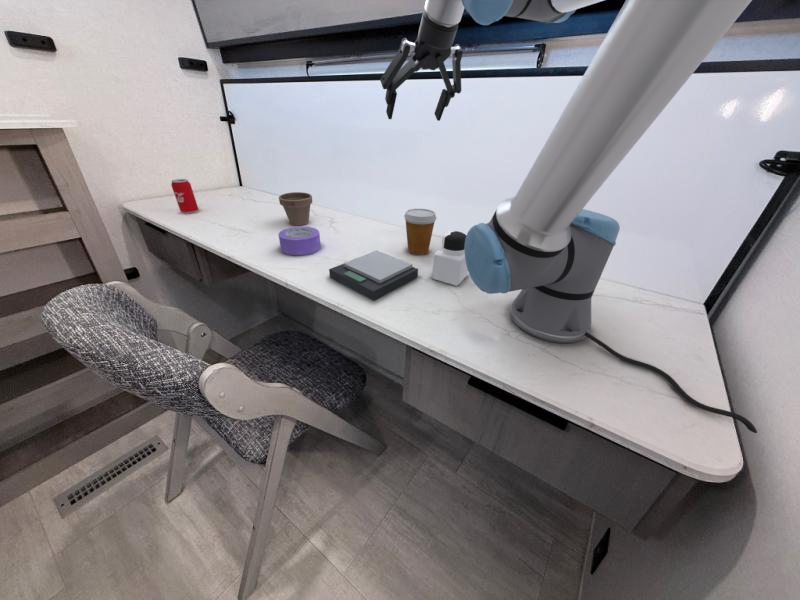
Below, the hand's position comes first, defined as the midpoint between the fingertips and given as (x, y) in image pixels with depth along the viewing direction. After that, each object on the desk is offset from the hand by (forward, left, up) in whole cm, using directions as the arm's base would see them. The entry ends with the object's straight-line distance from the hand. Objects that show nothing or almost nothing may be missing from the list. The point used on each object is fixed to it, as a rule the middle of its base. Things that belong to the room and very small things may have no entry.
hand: (413, 116), depth 79 cm
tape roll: (+22, +25, -36) cm, 49 cm away
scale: (-8, +23, -36) cm, 43 cm away
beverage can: (+85, +35, -36) cm, 99 cm away
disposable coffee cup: (-5, +1, -36) cm, 36 cm away
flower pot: (+43, +12, -36) cm, 57 cm away
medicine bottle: (-22, +9, -36) cm, 43 cm away
